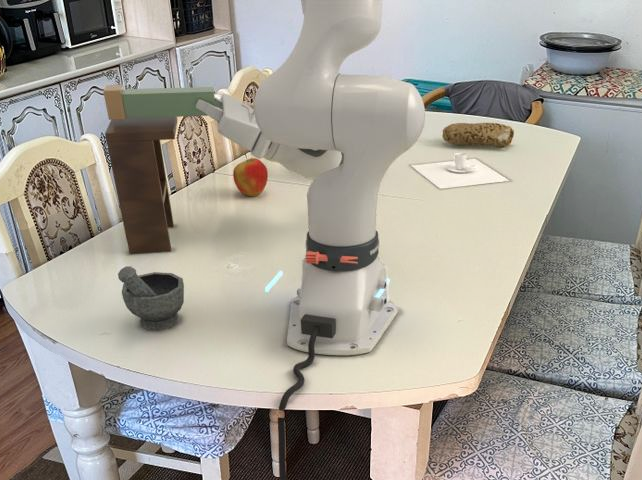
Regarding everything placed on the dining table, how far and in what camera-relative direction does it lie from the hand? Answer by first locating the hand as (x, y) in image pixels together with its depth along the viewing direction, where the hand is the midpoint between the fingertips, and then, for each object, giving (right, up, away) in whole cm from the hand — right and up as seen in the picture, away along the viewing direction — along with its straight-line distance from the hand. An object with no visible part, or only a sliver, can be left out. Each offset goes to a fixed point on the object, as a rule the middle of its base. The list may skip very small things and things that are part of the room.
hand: (197, 99), depth 134 cm
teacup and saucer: (+55, -1, +54) cm, 77 cm away
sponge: (+62, +13, +76) cm, 99 cm away
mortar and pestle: (-2, -44, -17) cm, 47 cm away
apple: (+3, -10, +36) cm, 38 cm away
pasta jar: (-7, -3, 0) cm, 7 cm away
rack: (-10, -25, +13) cm, 30 cm away
